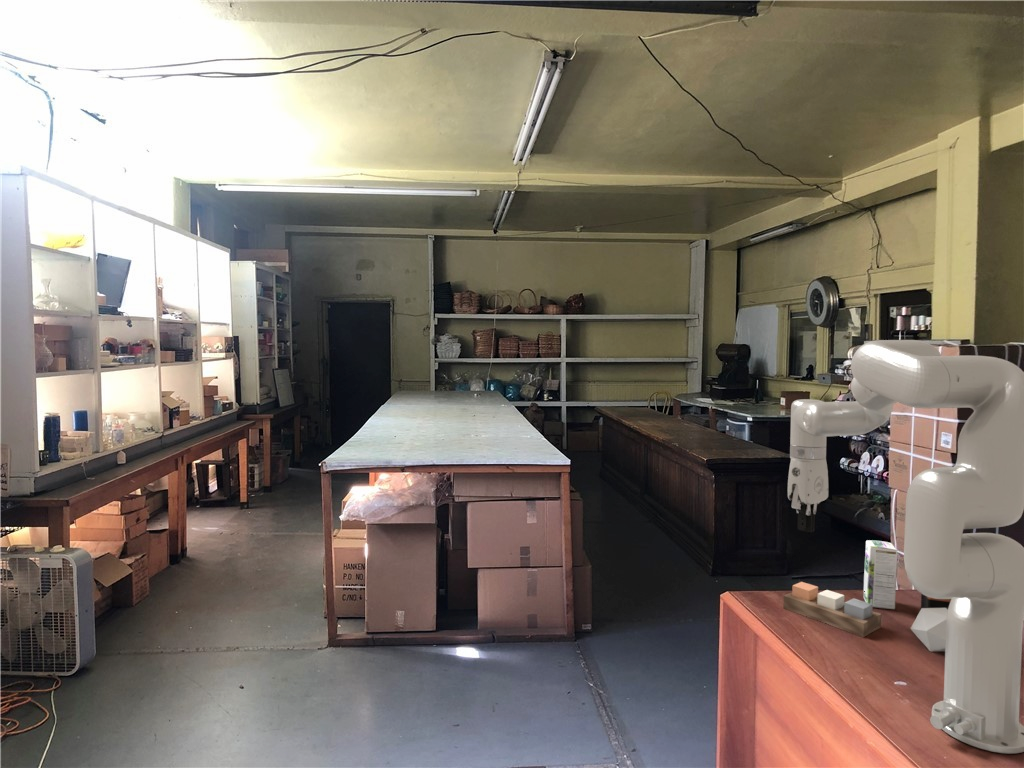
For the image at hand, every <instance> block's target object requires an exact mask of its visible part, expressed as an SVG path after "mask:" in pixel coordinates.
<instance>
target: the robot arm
mask: <svg viewBox="0 0 1024 768" xmlns="http://www.w3.org/2000/svg"><path fill="white" fill-rule="evenodd" d="M850 369H851V370H850V371H851V374H852V376H853V377H852V379H851V382H850V391H851V394H852V396H853V398H854V399H855V401H851V400H850V401H848V400H847V401H824V400H820V399H811V398H807V399H806V398H804V399H796V400H794V401H792V403H791V406H790V437H789V439H790V441H789V442H790V444H789V445H790V446H789V458H790V463H789V469H788V476H787V478H788V479H787V498H788V500H789V501H790V502H791V509H795V510H796V514H797V526H796V527H797V530H798V531H801V532H807V533H812V532H815V521H816V520H815V517H816V513H817V507H818V505H819V504H820V503H821V502H823V501H825V500H827V499H828V498H829V470H828V464H827V437H838V436H839V437H840V436H841V437H843V436H847V437H849V436H850V437H851V436H855V437H856V436H861V435H865V434H867V433H870V432H872V431H875V429H877V428H879V427H881V426H882V425H884V424H885V423H887V422H888V420H889V419H890V417H891V415H892V412H893V409H894V405H895V404H896V403H899V404H902V405H904V406H907V407H910V408H913V409H923V410H924V409H925V410H927V409H929V410H930V409H932V410H933V409H960V408H961V409H962V408H970V409H972V410H973V412H972V413H971V415H970V416H969V417H968V418H967V420H966V421H965V423H964V424H963V426H962V428H961V431H960V433H959V435H958V439H957V440H958V441H957V458H956V462H955V465H954V466H942V467H940V466H939V467H932V468H928V469H925V470H923V471H921V472H919V473H918V474H917V475H916V476H914V478H913V479H912V481H911V482H910V484H909V486H908V489H907V492H906V498H905V500H906V501H905V514H904V515H905V517H904V541H903V542H904V544H903V560H904V569H905V572H906V574H907V578H908V580H909V582H910V584H911V585H912V586H913V588H915V590H916V591H917V592H919V593H920V594H921V593H922V594H923V595H925V596H928V597H930V598H935V599H951V602H950V604H949V608H948V612H947V620H946V645H945V651H944V681H943V700H939V701H937V702H935V703H934V704H933V705H932V708H931V717H930V718H929V720H930V721H929V722H930V724H931V725H932V726H933V728H935V729H937V730H943V732H945V733H946V734H947V735H949V736H951V737H953V738H954V739H957V740H958V741H960V742H962V743H964V744H967V745H969V746H972V747H975V748H977V749H981V750H985V751H988V752H993V753H999V754H1020V753H1023V752H1024V725H1023V723H1021V722H1020V700H1021V676H1022V674H1021V673H1022V672H1021V671H1022V651H1023V649H1022V648H1023V634H1024V632H1023V631H1024V629H1023V628H1024V546H1023V545H1022V544H1021V543H1020V542H1018V541H1016V540H1015V539H1013V538H1012V537H1009V536H1007V535H1006V536H1005V535H1003V534H1000V533H993V532H970V533H963V532H964V530H974V529H975V530H976V529H990V528H993V529H994V528H1001V527H1006V526H1007V527H1008V526H1010V525H1013V524H1015V523H1017V522H1018V521H1019V520H1020V519H1021V518H1022V515H1023V513H1024V371H1023V370H1022V368H1020V367H1019V366H1018V365H1016V364H1015V363H1013V362H1011V361H1008V360H1006V359H1003V358H1000V357H999V358H998V357H996V356H986V355H942V354H941V352H940V351H939V349H938V348H937V347H935V345H932V344H930V343H928V342H926V341H922V340H917V339H916V340H915V339H888V340H887V339H885V340H884V339H878V340H871V341H868V342H865V343H864V344H862V345H861V346H859V348H857V350H856V351H855V352H854V353H853V356H852V359H851V362H850Z"/></svg>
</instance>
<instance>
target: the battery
mask: <svg viewBox="0 0 1024 768" xmlns="http://www.w3.org/2000/svg"><path fill="white" fill-rule="evenodd" d="M920 594H921V595H920V597H921V598H920V600H921V601H920V609H921V608H947V609H948V608H949V604H950V602H951V599H935V598H930V597H928V596H925V595H923V594H922V593H920Z"/></svg>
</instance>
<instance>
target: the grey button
mask: <svg viewBox="0 0 1024 768" xmlns="http://www.w3.org/2000/svg"><path fill="white" fill-rule="evenodd" d="M844 602H845V605H844V613H845V614H847V615H850V616H853V617H856V618H859V619H862V620H866V619H867V618H869V617H871V616H872V611H873V608H874V607H873V604H870V603H867V602H866V601H865V600H861V599H857V598H854V597H853V598H851V599H849V600H847V601H844Z"/></svg>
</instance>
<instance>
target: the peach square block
mask: <svg viewBox="0 0 1024 768" xmlns="http://www.w3.org/2000/svg"><path fill="white" fill-rule="evenodd" d="M791 588H792V590H791V591H792V596H795V597H798V598H801V599H804V600H807V601H812V600H814V599H816V598H818V593H819V586H817V585H814V584H811V583H806V582H803V581H799V582H798V583H795V584H793V585H792V587H791Z"/></svg>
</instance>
